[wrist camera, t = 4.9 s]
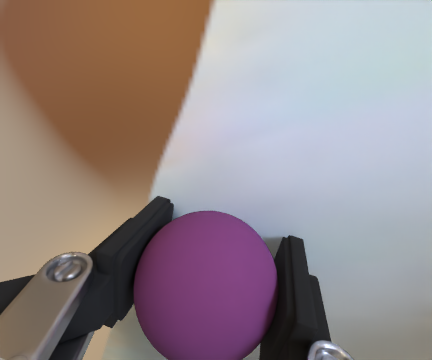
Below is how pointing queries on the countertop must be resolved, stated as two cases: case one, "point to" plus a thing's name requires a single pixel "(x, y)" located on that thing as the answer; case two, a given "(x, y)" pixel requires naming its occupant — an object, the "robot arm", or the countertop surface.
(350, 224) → the countertop surface
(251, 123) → the countertop surface
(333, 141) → the countertop surface
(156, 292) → the ball
